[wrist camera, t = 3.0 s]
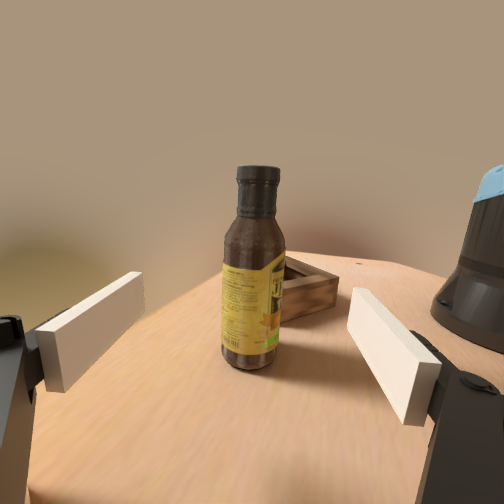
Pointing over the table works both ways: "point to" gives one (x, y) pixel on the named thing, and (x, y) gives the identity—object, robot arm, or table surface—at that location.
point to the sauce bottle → (253, 272)
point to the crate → (306, 289)
